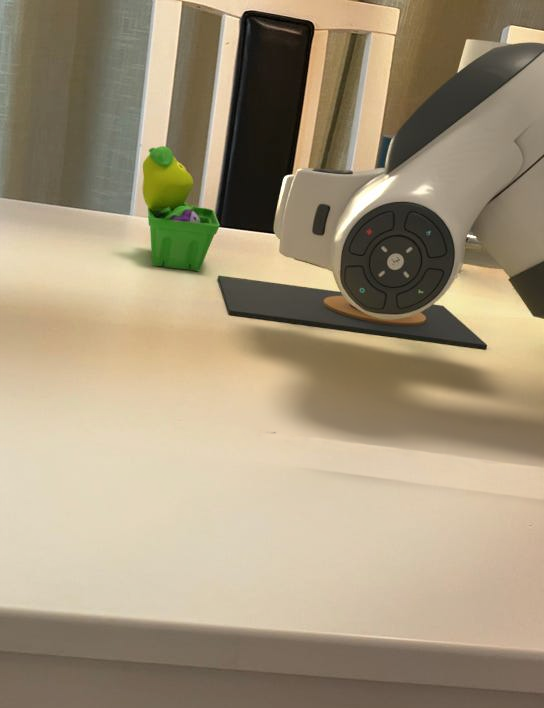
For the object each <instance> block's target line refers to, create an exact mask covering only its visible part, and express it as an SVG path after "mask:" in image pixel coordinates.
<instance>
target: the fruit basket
mask: <svg viewBox="0 0 544 708" xmlns="http://www.w3.org/2000/svg"><path fill="white" fill-rule="evenodd" d="M148 152H149V153H148V155H147V157H145V159H144V161H143V162H142V176H143V179H142V180H143V181H142V197H143V200H144V203H145V205H146V206H147V218H148V226H149V227H150V228H149V229H150V230H149V231H150V249H151V263H152V265H153V266H155V267H165V268H169V269H177V270H189V271H192V272H193V271H194V272H200V271H201V268H202V267H203V263H204V260H205V258H206V256H207V254H208V251H209V248H210V247H211V244H212V241H213V239H214V236H216V234H217V232H218V230H219V228H220V226H221V224H220V222H219V220H218V217H217V215H216V213H215V210H213V209H210V208H206V207H199V206H195V205H194V204H192V205H189V204H188V203H187V202H186V200H187V199H188V197H189V194H190V192H191V190H192V188H193V186H194V179H193V176H192V174H190V172H188V171H187V168H186V166H184V165H183V164H182V163H181V162H180V161H178V160H177V158H176V157H175V156H174V153H173V151H172V150H171V149H170V148H168V146H164V145H162V146H161V145H160V146H157V147H151V148H149V149H148Z"/></svg>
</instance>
